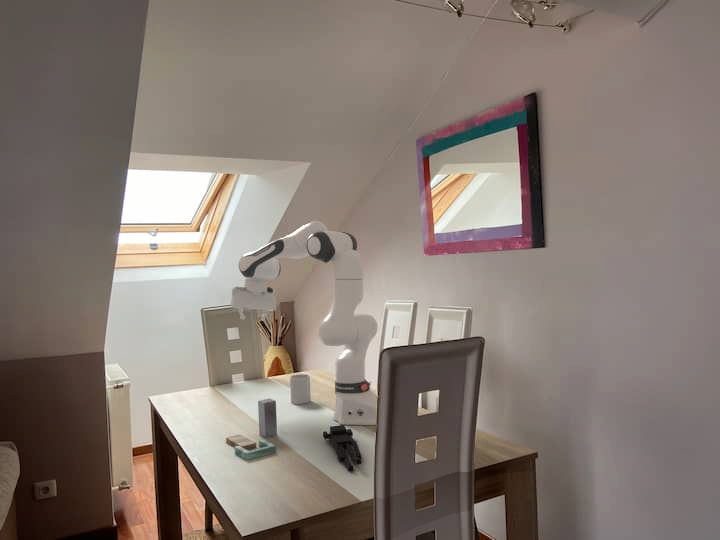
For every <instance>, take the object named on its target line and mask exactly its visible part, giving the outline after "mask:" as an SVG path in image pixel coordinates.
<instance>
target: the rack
mask: <svg viewBox="0 0 720 540" xmlns="http://www.w3.org/2000/svg"><path fill="white" fill-rule="evenodd" d="M225 441H226V443H227V444H229V445H230V446H232V447H233V448H234V454H236V455H238V456H239V457H241V458H243V459H244V460H246V461H249V460H252V459H256V458H260V457H264V456H267V455H270V454H274V453H277V448H276V447H277V445H275V444H273V443H271V442H269V441H267V440H265V439H259V440H258V447H259V448H257V442H256V441H253V440H252V439H249V438H248V437H246V436H244V435H242V434H241V433H240V434H236V435H232V436H228V437H227V436H226V438H225ZM251 449H252V450H251Z"/></svg>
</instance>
